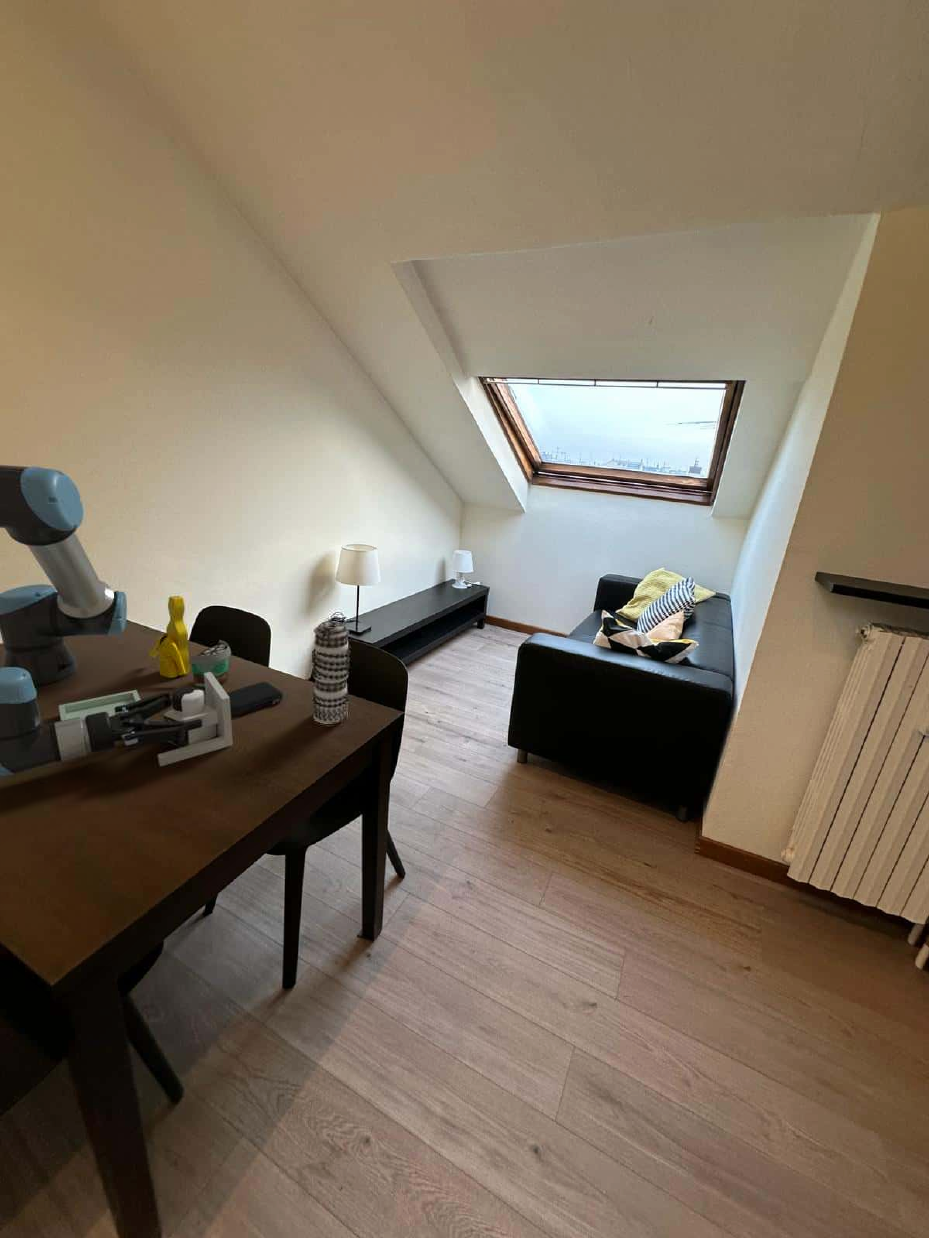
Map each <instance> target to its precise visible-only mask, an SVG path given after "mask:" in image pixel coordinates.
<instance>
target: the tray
mask: <svg viewBox="0 0 929 1238" xmlns="http://www.w3.org/2000/svg"><path fill="white" fill-rule="evenodd" d="M139 700H142V699H141V697H140V695H139V693H138V690H137V689H134V690H130V691H123V692H120V693H114V694H109V695H104V696H99V697H94V698H90V699H85V700H80V701H75V702H69V703H65V704H64V703H63V704H59V705H58V710H59V715H60V721H63V720H68V719H72V718H77V717H80V718H81V719H85V717H87V715H91V714H96V713H100V712H107V713H108V715H109V717H111V716H113V715H115V709H114V708H115V707H117V706H122V705H127V704H130V703H133V702H136V701H139ZM149 718H150V717H149ZM149 718H147V719H146V720H148V721H149V722H150V719H149Z"/></svg>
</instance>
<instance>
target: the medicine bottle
mask: <svg viewBox="0 0 929 1238" xmlns="http://www.w3.org/2000/svg"><path fill="white" fill-rule="evenodd" d="M203 691H204V689H200V688H197V687H194V686H187V687H182V688H179V689H177V690H175V691H173V693H171V696H172V705H173V708H172V709H171V710H168V711H167V712H165V713H163V721H164V722H178V721H182V722H183V718H187V717H191V716H196V715H200V714H204V713H208V712H212V711H214V709H213V708H210V707H208V706H207V705H205V701H204V700H205V691H204V692H203ZM172 705H171V706H172ZM185 735H186V736H185V737H184V738H183V739H182V740H175V741H167V742H168V743H171V744H172V745H175V746H176V747H177V746H178V747H179V748H182V747H186V746H190V745H193V744H197V743H200V742H204V741H207V740H211V739H214V738H216V736H217V733H216V723H215V724H212V725H208V726H204V727H200V728H197V729H193V730H189V731H186V732H185Z"/></svg>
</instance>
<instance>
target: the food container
mask: <svg viewBox="0 0 929 1238" xmlns="http://www.w3.org/2000/svg"><path fill="white" fill-rule="evenodd" d="M231 654H232V650H231V648H230V646H229V644H228V643H227V642H225V641H224V640H221V639H219V640H218V644H216V645H214V646H211V647H208V648H205V649H204V650H202V651H201V652H200V653H198V654H197V655H192V654H191V655H189V663H190V666H191V670H192V675H193V680H194V686H195V687H197V688H200V689H201V690H205V681H204V673H208V672H211V673H212V674H213V676H214V677H215V678H216V680H217V681H218V682H219V684H220V685H221V686H223V685H225V684H226V683H228V679H229V678H228V676H229V657H230V656H231Z"/></svg>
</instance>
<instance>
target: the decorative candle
mask: <svg viewBox="0 0 929 1238" xmlns="http://www.w3.org/2000/svg"><path fill="white" fill-rule="evenodd" d="M313 633H314V634H315V635H314V636H315V637H314V638H315V639H314V648H313V650H312V651H311V658H312V659H311V663H313V664H312V674H311V675H312V676H313V678H314V682H315V683H314V690H313V691H312V692H313V693H312V698H313V700H312V702H313V704H312V715H313V716H312V717H313V718H314V719H315V720H314V719H313V718H312V719H313V720H314V721H317V722H320V723H323V724H330V723H331V724H332V722H339V720H340V719H343V717H344V716H345V715H346V713H347V714H348V713H349V711H348V709H349V702H348V701H349V690H348V683H347V679H348V677H349V675H350V671H349V670H348V669H350V666H351V665H350V663H351V658H350V657H349V656H350V655H352V651H351V650H350V649H352V646H351V644H349V640H348V637H349V636H348V634H349V633H350V629H348V627H346V626H345V625H344V624H343V623H342V622H339V621H336V620H335V621H334V620H333V621H332V620H328V621H324V622H321V623H319V625H318V626H317V627H315V628H314V629H313ZM317 722H316V723H317Z"/></svg>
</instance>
